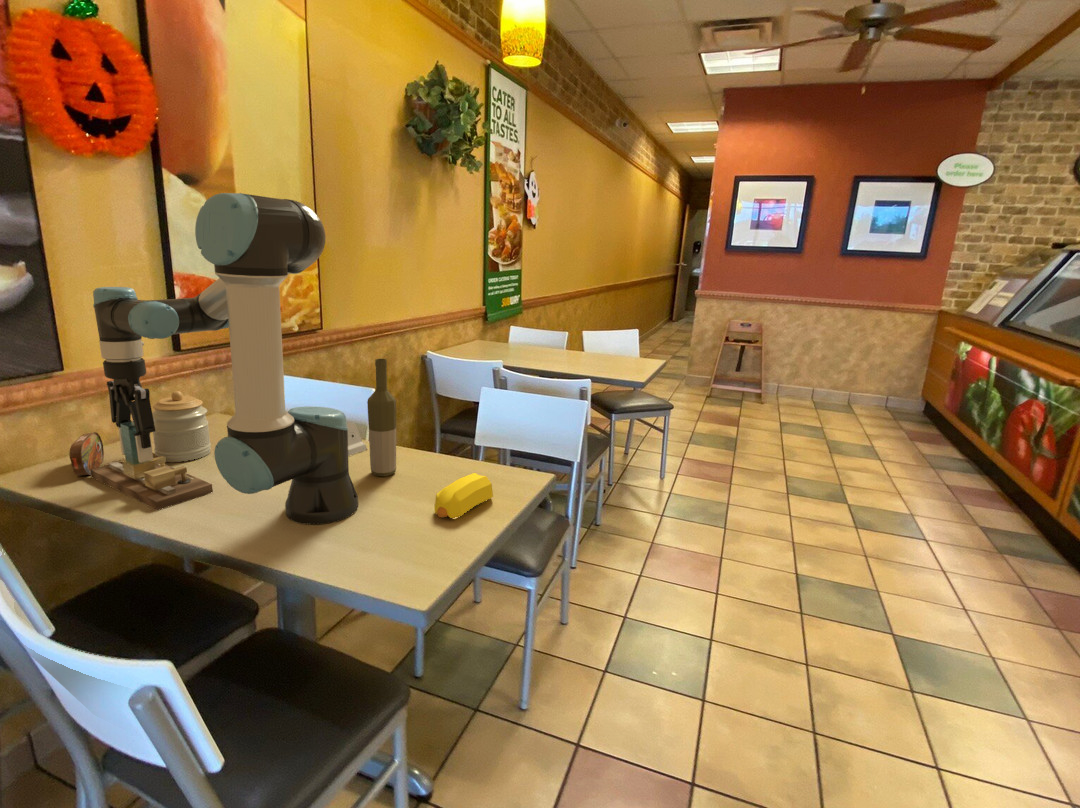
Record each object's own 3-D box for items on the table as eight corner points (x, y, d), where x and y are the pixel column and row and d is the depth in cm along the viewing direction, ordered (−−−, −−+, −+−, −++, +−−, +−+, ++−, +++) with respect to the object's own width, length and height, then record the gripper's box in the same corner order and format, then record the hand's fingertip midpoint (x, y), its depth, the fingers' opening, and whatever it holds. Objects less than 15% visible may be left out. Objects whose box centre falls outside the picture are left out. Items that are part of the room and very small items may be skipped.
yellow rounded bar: (425, 517, 127) (453, 526, 123) (425, 489, 125) (453, 498, 122) (474, 490, 142) (499, 498, 138) (474, 465, 140) (500, 472, 137)
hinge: (321, 466, 152) (310, 430, 151) (310, 468, 154) (299, 432, 153) (368, 449, 166) (358, 416, 165) (357, 451, 168) (347, 418, 167)
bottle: (363, 475, 147) (360, 360, 139) (379, 466, 154) (376, 356, 146) (387, 480, 145) (385, 363, 137) (402, 470, 151) (401, 358, 144)
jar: (172, 467, 147) (164, 400, 142) (145, 456, 153) (136, 391, 148) (221, 453, 158) (215, 390, 153) (194, 443, 164) (187, 383, 159)
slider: (171, 472, 137) (164, 420, 133) (135, 482, 130) (127, 427, 127) (160, 467, 139) (153, 416, 136) (124, 477, 133) (116, 423, 129)
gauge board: (212, 492, 133) (210, 467, 132) (157, 510, 123) (153, 483, 122) (145, 463, 148) (142, 440, 147) (91, 477, 138) (87, 452, 137)
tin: (87, 480, 137) (81, 446, 134) (71, 481, 135) (65, 447, 133) (106, 458, 150) (101, 427, 148) (91, 459, 149) (86, 428, 147)
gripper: (165, 362, 124) (178, 462, 130) (120, 350, 134) (133, 443, 140) (127, 367, 118) (141, 471, 124) (82, 354, 128) (98, 452, 134)
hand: (137, 456), depth 132 cm, fingers open, 7 cm apart
